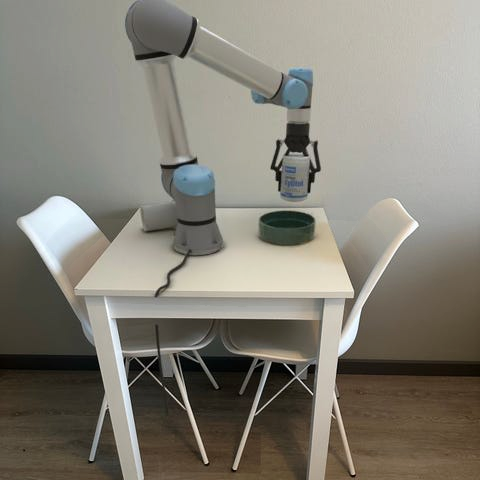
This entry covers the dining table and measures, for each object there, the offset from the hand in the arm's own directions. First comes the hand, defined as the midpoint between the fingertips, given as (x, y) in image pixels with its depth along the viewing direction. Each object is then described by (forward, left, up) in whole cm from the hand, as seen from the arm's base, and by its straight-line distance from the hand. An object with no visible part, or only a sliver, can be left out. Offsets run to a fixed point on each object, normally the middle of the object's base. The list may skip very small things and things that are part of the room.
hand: (294, 191), depth 162 cm
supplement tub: (0, 0, -3) cm, 3 cm away
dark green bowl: (-17, +7, -9) cm, 21 cm away
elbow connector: (+2, +44, -10) cm, 45 cm away
